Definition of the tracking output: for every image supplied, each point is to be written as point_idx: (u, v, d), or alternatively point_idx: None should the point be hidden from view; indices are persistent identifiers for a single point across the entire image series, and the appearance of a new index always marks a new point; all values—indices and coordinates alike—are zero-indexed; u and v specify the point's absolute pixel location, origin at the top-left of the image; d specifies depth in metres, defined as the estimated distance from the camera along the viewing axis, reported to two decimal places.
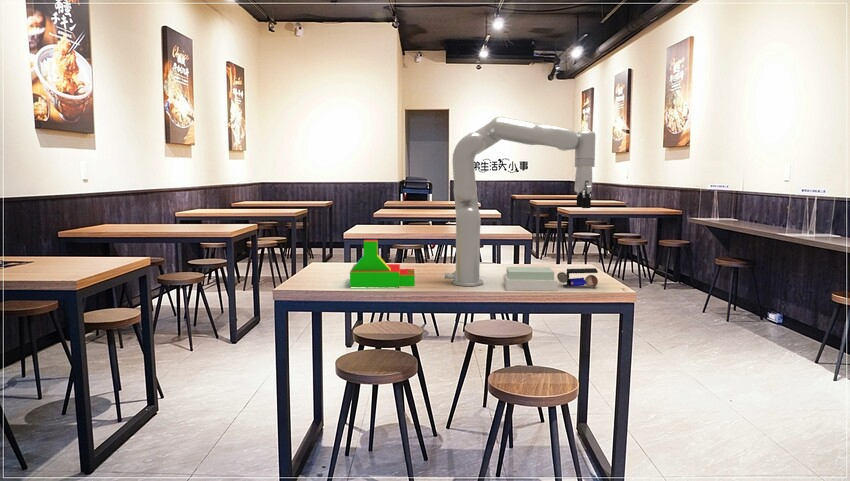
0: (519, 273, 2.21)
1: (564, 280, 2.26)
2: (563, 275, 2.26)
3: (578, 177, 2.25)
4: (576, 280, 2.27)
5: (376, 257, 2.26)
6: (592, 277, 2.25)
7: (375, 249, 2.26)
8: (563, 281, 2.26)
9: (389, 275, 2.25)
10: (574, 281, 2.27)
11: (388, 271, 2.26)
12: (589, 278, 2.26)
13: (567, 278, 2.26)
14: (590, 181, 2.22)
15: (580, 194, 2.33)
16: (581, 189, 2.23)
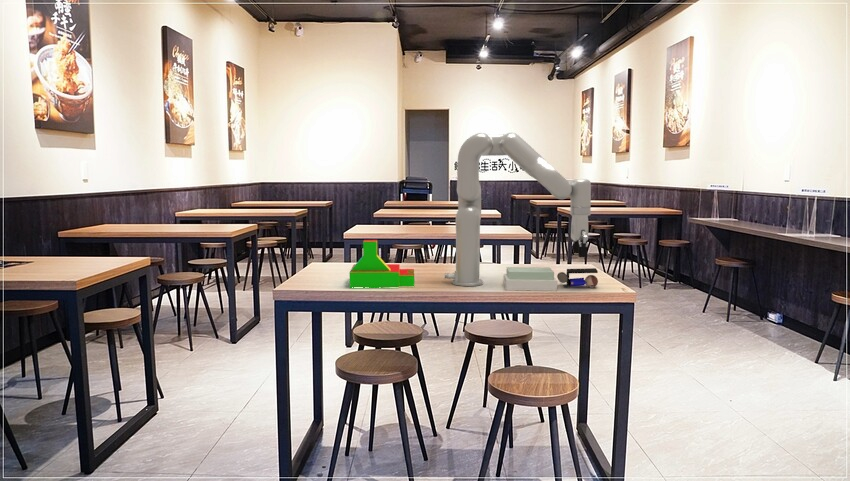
0: (519, 273, 2.21)
1: (564, 280, 2.26)
2: (563, 275, 2.26)
3: (574, 226, 2.23)
4: (576, 280, 2.27)
5: (376, 257, 2.26)
6: (592, 277, 2.25)
7: (375, 249, 2.25)
8: (563, 281, 2.26)
9: (389, 275, 2.24)
10: (574, 281, 2.27)
11: (388, 271, 2.25)
12: (589, 278, 2.26)
13: (567, 278, 2.26)
14: (586, 230, 2.21)
15: (576, 241, 2.31)
16: (577, 238, 2.21)
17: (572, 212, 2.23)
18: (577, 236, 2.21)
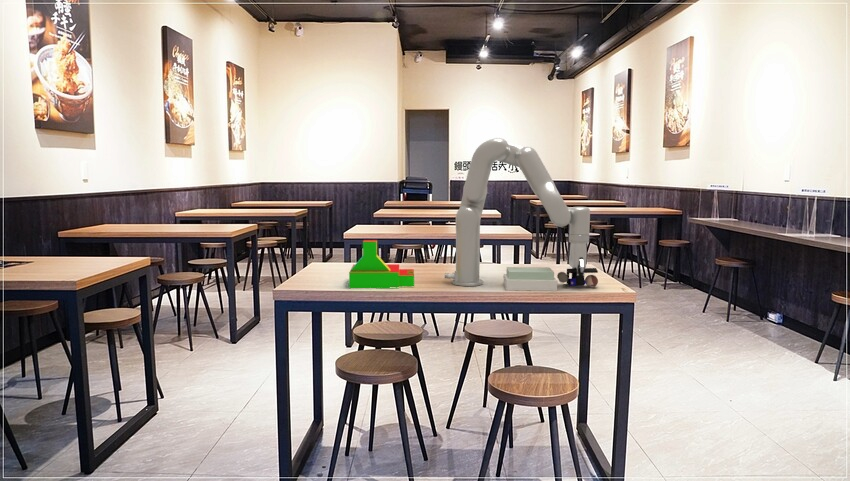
0: (519, 273, 2.21)
1: (564, 280, 2.26)
2: (563, 275, 2.26)
3: (572, 253, 2.24)
4: None
5: (375, 257, 2.25)
6: (592, 277, 2.25)
7: (374, 249, 2.25)
8: (563, 281, 2.26)
9: (389, 275, 2.24)
10: (574, 281, 2.27)
11: (387, 271, 2.25)
12: (589, 278, 2.25)
13: (567, 278, 2.26)
14: (584, 258, 2.22)
15: None
16: (575, 265, 2.22)
17: (571, 239, 2.25)
18: (575, 263, 2.22)
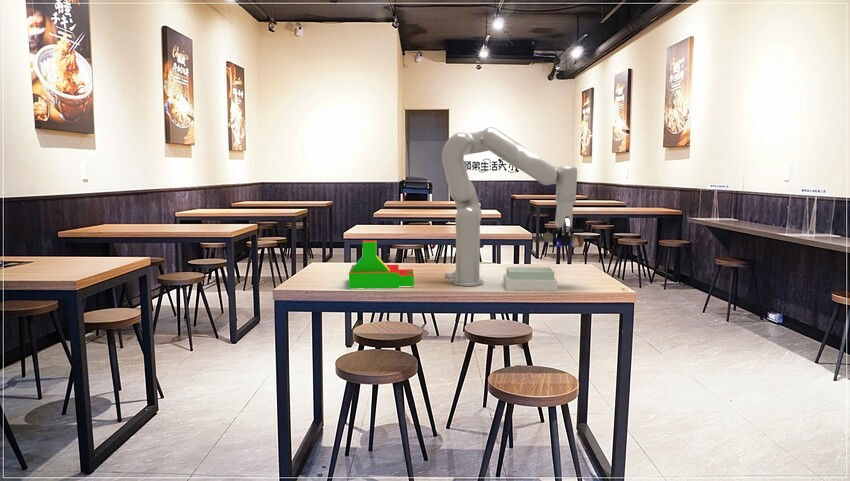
0: (519, 273, 2.21)
1: (550, 240, 2.24)
2: (549, 235, 2.24)
3: (558, 212, 2.22)
4: None
5: (375, 258, 2.25)
6: (578, 237, 2.23)
7: (374, 250, 2.24)
8: (549, 241, 2.24)
9: (389, 276, 2.23)
10: (560, 241, 2.25)
11: (387, 272, 2.24)
12: (575, 238, 2.23)
13: (553, 238, 2.24)
14: (570, 217, 2.20)
15: None
16: (561, 225, 2.20)
17: (557, 199, 2.22)
18: (561, 223, 2.20)
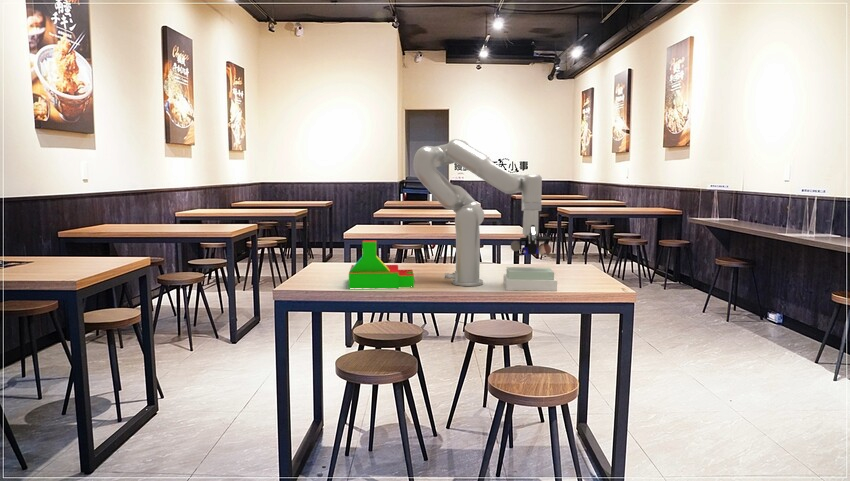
0: (519, 273, 2.21)
1: (517, 248, 2.23)
2: (515, 243, 2.23)
3: (524, 221, 2.22)
4: None
5: (375, 258, 2.24)
6: (545, 245, 2.23)
7: (374, 250, 2.24)
8: (516, 249, 2.24)
9: (389, 276, 2.23)
10: (527, 249, 2.24)
11: (387, 272, 2.24)
12: (542, 246, 2.23)
13: (519, 246, 2.23)
14: (536, 225, 2.19)
15: None
16: (527, 233, 2.20)
17: (523, 207, 2.22)
18: (527, 231, 2.20)
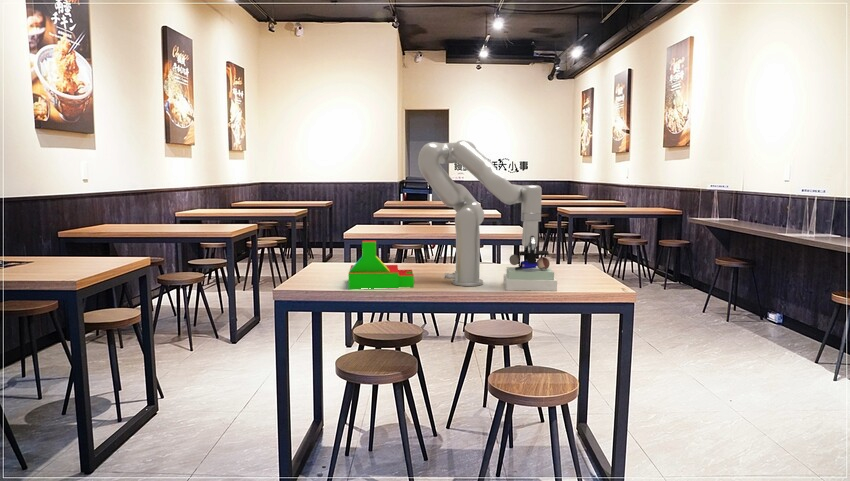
0: (519, 273, 2.21)
1: (515, 262, 2.24)
2: (514, 257, 2.24)
3: (524, 231, 2.22)
4: None
5: (375, 258, 2.24)
6: (543, 259, 2.24)
7: (374, 250, 2.23)
8: (514, 263, 2.24)
9: (389, 276, 2.23)
10: (526, 263, 2.25)
11: (387, 272, 2.24)
12: (540, 260, 2.24)
13: (518, 260, 2.24)
14: (535, 236, 2.20)
15: (528, 247, 2.30)
16: (526, 244, 2.20)
17: (522, 218, 2.23)
18: (526, 242, 2.20)
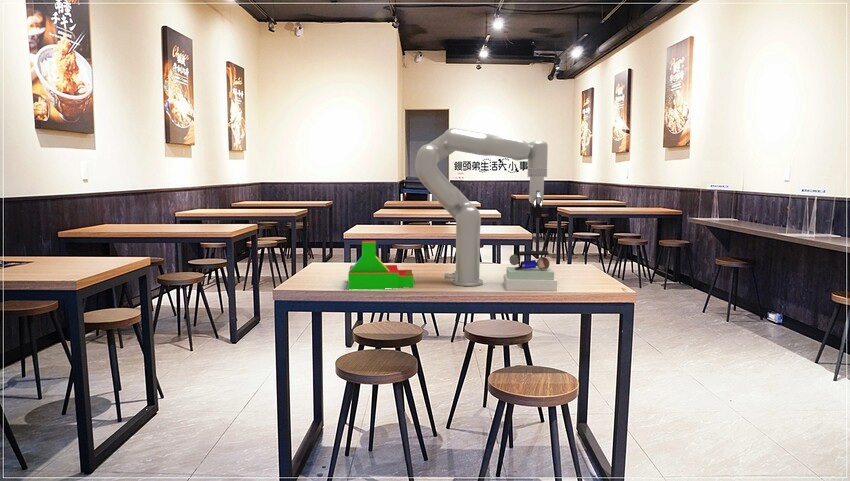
0: (519, 273, 2.21)
1: (515, 262, 2.24)
2: (514, 257, 2.24)
3: (530, 187, 2.27)
4: (528, 262, 2.25)
5: (375, 258, 2.23)
6: (543, 259, 2.24)
7: (374, 250, 2.23)
8: (514, 263, 2.24)
9: (389, 276, 2.22)
10: (526, 263, 2.25)
11: (387, 272, 2.23)
12: (540, 260, 2.24)
13: (518, 260, 2.24)
14: (541, 191, 2.24)
15: None
16: (532, 199, 2.25)
17: (528, 173, 2.27)
18: (532, 197, 2.25)
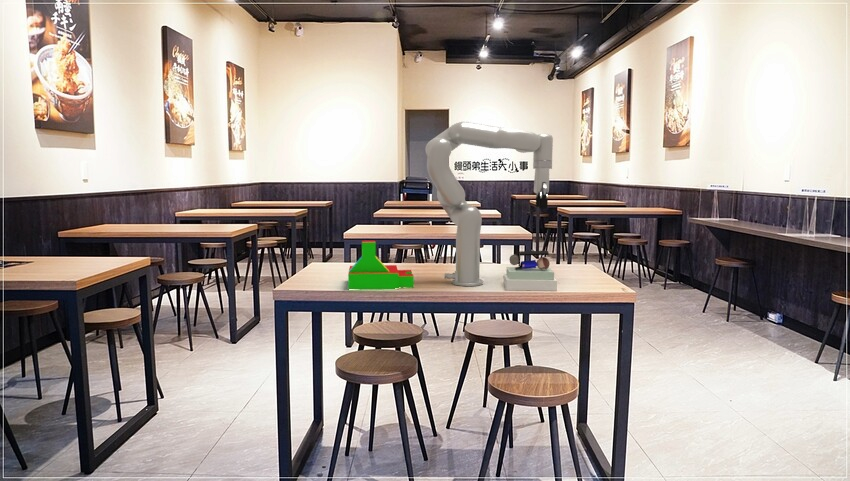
0: (519, 273, 2.21)
1: (515, 262, 2.24)
2: (514, 257, 2.24)
3: (536, 178, 2.33)
4: (528, 262, 2.25)
5: (375, 258, 2.23)
6: (543, 259, 2.24)
7: (373, 250, 2.22)
8: (514, 263, 2.24)
9: (389, 276, 2.22)
10: (526, 263, 2.25)
11: (387, 272, 2.23)
12: (540, 260, 2.24)
13: (518, 260, 2.24)
14: (547, 182, 2.31)
15: (539, 195, 2.42)
16: (538, 190, 2.31)
17: (534, 165, 2.34)
18: (538, 188, 2.31)
